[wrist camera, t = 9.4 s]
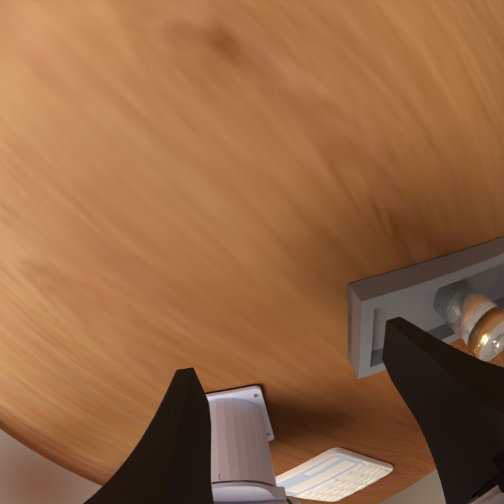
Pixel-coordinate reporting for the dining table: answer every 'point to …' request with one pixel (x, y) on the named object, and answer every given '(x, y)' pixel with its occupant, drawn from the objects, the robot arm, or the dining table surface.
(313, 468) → the calculator
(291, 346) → the dining table surface
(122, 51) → the dining table surface
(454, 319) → the cell
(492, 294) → the trough
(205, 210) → the dining table surface
